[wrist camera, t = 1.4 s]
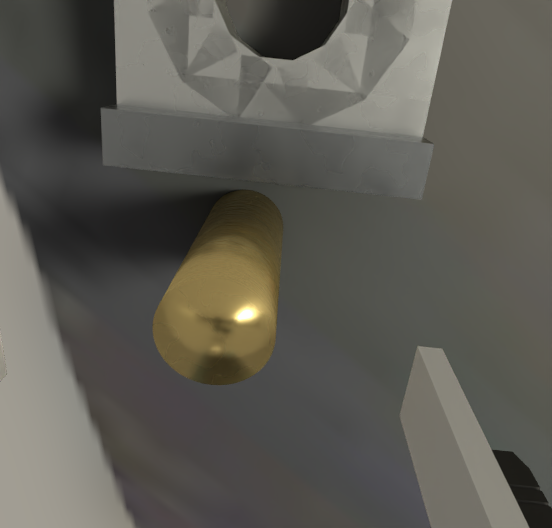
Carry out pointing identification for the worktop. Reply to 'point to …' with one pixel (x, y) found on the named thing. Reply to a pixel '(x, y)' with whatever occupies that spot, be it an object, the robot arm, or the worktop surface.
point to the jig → (276, 97)
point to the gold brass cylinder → (225, 294)
